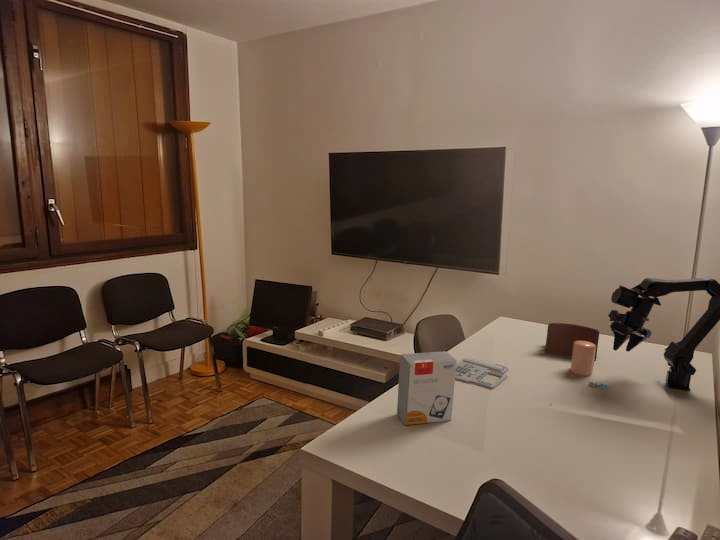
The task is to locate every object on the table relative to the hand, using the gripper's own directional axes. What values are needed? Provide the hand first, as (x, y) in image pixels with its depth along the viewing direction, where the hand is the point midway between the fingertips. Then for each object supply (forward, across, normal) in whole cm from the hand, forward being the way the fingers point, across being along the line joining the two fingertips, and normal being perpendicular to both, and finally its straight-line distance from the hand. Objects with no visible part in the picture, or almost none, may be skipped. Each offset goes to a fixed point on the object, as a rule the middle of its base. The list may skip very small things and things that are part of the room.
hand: (620, 350), depth 174 cm
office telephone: (+27, +35, -27) cm, 52 cm away
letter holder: (+14, -14, -24) cm, 32 cm away
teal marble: (+13, +10, +5) cm, 17 cm away
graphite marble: (+14, +12, +2) cm, 18 cm away
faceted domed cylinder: (+15, +4, -8) cm, 17 cm away
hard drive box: (+32, +75, -10) cm, 82 cm away
